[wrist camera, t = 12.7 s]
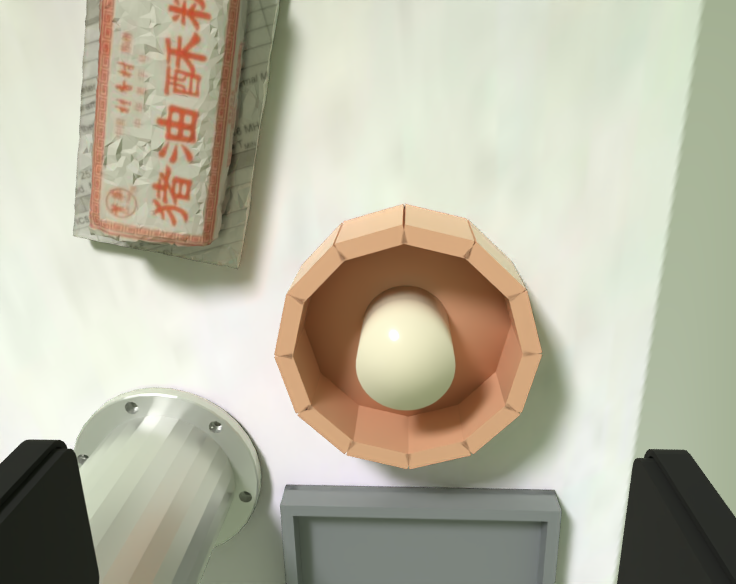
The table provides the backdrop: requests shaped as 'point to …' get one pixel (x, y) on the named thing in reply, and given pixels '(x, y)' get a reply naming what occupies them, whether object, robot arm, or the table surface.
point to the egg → (405, 349)
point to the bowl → (467, 324)
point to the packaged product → (172, 123)
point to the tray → (419, 535)
